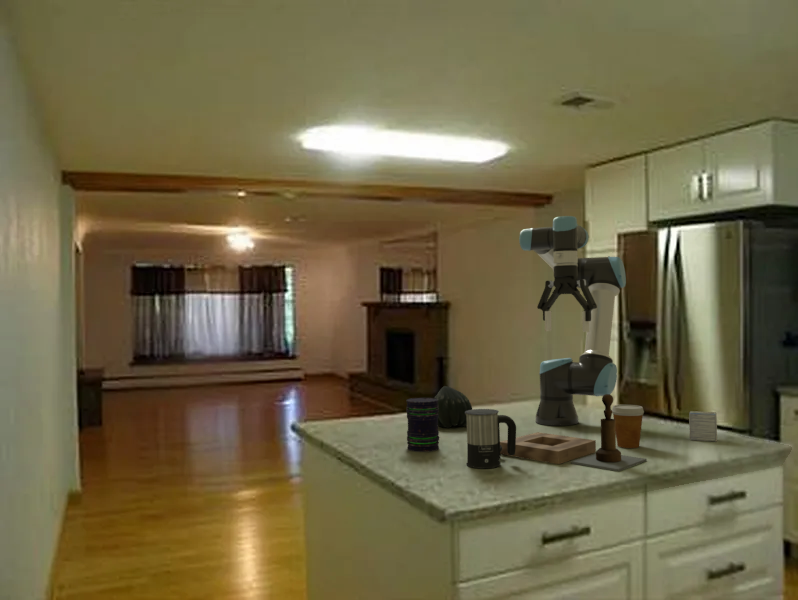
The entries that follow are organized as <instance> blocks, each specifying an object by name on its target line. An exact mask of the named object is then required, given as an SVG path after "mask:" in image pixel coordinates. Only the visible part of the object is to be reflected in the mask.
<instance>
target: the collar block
mask: <svg viewBox="0 0 798 600" xmlns="http://www.w3.org/2000/svg"><path fill="white" fill-rule="evenodd" d="M507 440H508V439H505V440H500V445H501V446H502V450H501V452H500V455H504V456H510V457H515V458H520V459H521V458H522V459H525V460H527V459H528V460H531V461H537V462H543V463H550V464H555V465H560V464H563V463H567V462H571V461H573V460H576V459H579V458H582V457H585V456H589V455H592V454H595V453H596V451H597V448H596V447H597V443H596V442H597V441H596V440H595V439H588V438H582V437H576V436H575V437H574V436H566V435H561V434H554V433H553V434H551V433H547V432H540V431H537V432H534V433H533V432H532V433H528V434H526V435H522V436H516V447H515V454H514V455H509V454H508V452H507Z"/></svg>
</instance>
